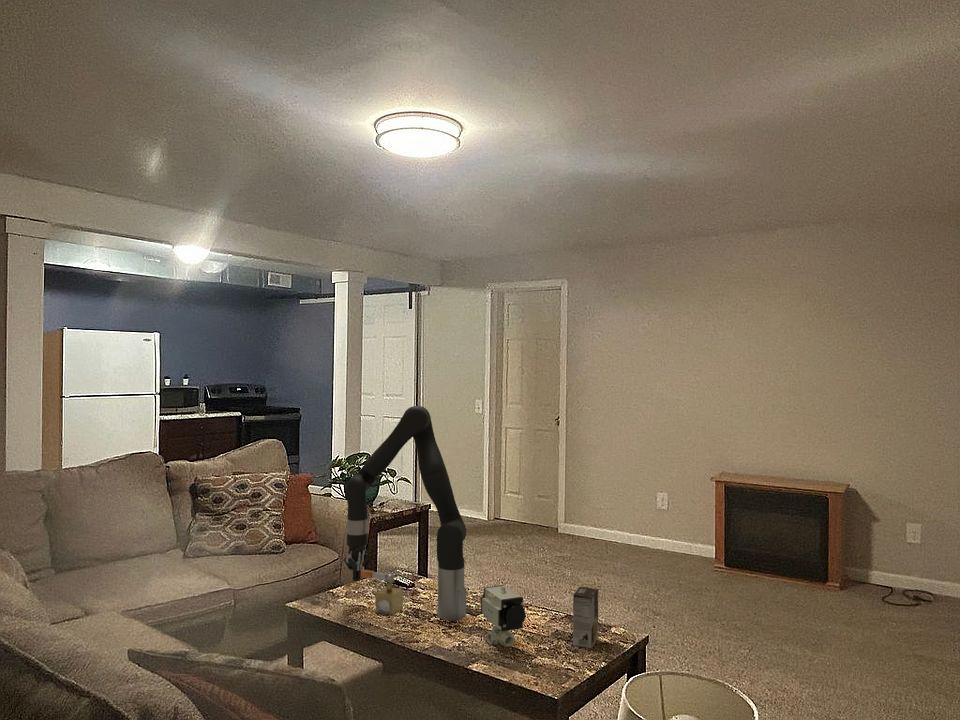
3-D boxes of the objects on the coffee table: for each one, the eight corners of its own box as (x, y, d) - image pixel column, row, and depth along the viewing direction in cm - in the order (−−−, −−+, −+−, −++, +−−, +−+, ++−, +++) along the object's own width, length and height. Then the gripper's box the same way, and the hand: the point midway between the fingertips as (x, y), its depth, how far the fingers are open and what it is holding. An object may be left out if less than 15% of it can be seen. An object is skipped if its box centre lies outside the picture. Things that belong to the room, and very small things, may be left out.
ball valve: (476, 635, 231) (477, 580, 231) (499, 631, 235) (500, 577, 235) (501, 656, 215) (502, 597, 215) (526, 651, 218) (526, 594, 218)
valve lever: (395, 580, 254) (395, 573, 254) (391, 583, 251) (391, 575, 251) (361, 575, 260) (361, 568, 260) (356, 577, 257) (356, 570, 257)
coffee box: (579, 635, 232) (579, 585, 232) (598, 638, 230) (599, 588, 230) (571, 645, 224) (572, 594, 224) (591, 648, 221) (592, 597, 222)
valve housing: (403, 608, 256) (404, 579, 256) (391, 616, 247) (391, 586, 247) (387, 605, 258) (387, 577, 258) (373, 613, 250) (374, 584, 250)
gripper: (355, 536, 244) (354, 587, 244) (376, 528, 256) (375, 576, 256) (337, 534, 247) (336, 584, 247) (359, 526, 259) (358, 574, 259)
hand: (356, 580), depth 252 cm, fingers closed
